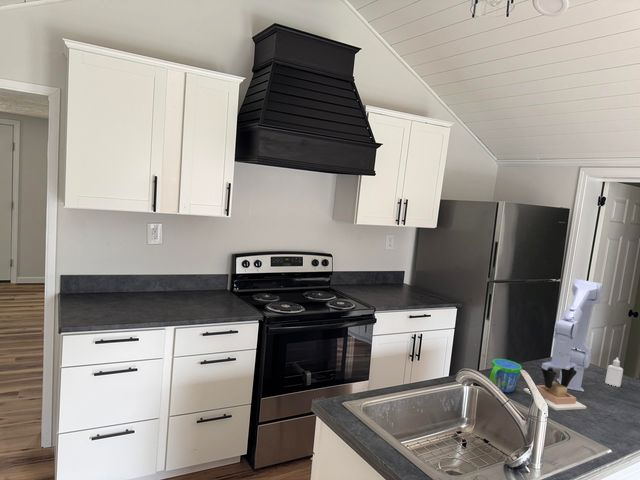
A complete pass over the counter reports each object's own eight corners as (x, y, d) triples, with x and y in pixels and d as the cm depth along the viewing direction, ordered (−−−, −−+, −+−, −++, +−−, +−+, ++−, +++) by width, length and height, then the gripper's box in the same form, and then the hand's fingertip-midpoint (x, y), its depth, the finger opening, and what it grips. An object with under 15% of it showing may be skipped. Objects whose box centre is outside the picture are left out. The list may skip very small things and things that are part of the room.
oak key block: (544, 394, 174) (546, 381, 173) (552, 393, 175) (554, 381, 175) (556, 401, 168) (558, 388, 168) (565, 400, 170) (567, 388, 169)
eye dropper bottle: (616, 388, 191) (621, 360, 190) (602, 382, 196) (607, 355, 195) (622, 387, 193) (627, 359, 192) (609, 381, 198) (613, 355, 197)
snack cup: (498, 397, 169) (503, 370, 168) (477, 384, 178) (481, 359, 177) (528, 393, 175) (532, 367, 174) (506, 381, 185) (510, 357, 184)
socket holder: (523, 390, 177) (524, 383, 177) (552, 389, 182) (553, 382, 181) (555, 410, 162) (557, 402, 162) (586, 408, 167) (587, 400, 166)
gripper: (554, 356, 164) (548, 392, 166) (585, 356, 169) (579, 391, 170) (540, 349, 171) (534, 384, 172) (570, 349, 175) (564, 383, 177)
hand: (555, 387), depth 172 cm, fingers open, 7 cm apart
